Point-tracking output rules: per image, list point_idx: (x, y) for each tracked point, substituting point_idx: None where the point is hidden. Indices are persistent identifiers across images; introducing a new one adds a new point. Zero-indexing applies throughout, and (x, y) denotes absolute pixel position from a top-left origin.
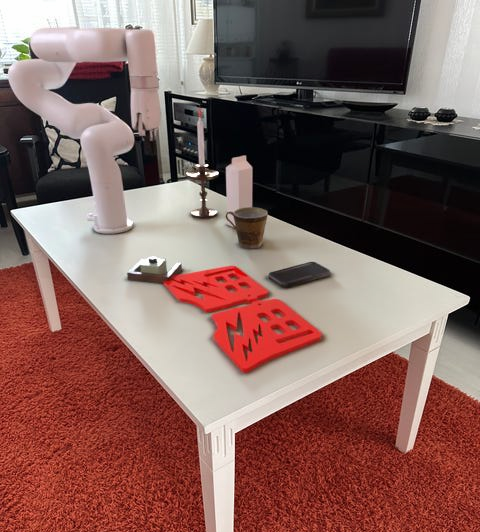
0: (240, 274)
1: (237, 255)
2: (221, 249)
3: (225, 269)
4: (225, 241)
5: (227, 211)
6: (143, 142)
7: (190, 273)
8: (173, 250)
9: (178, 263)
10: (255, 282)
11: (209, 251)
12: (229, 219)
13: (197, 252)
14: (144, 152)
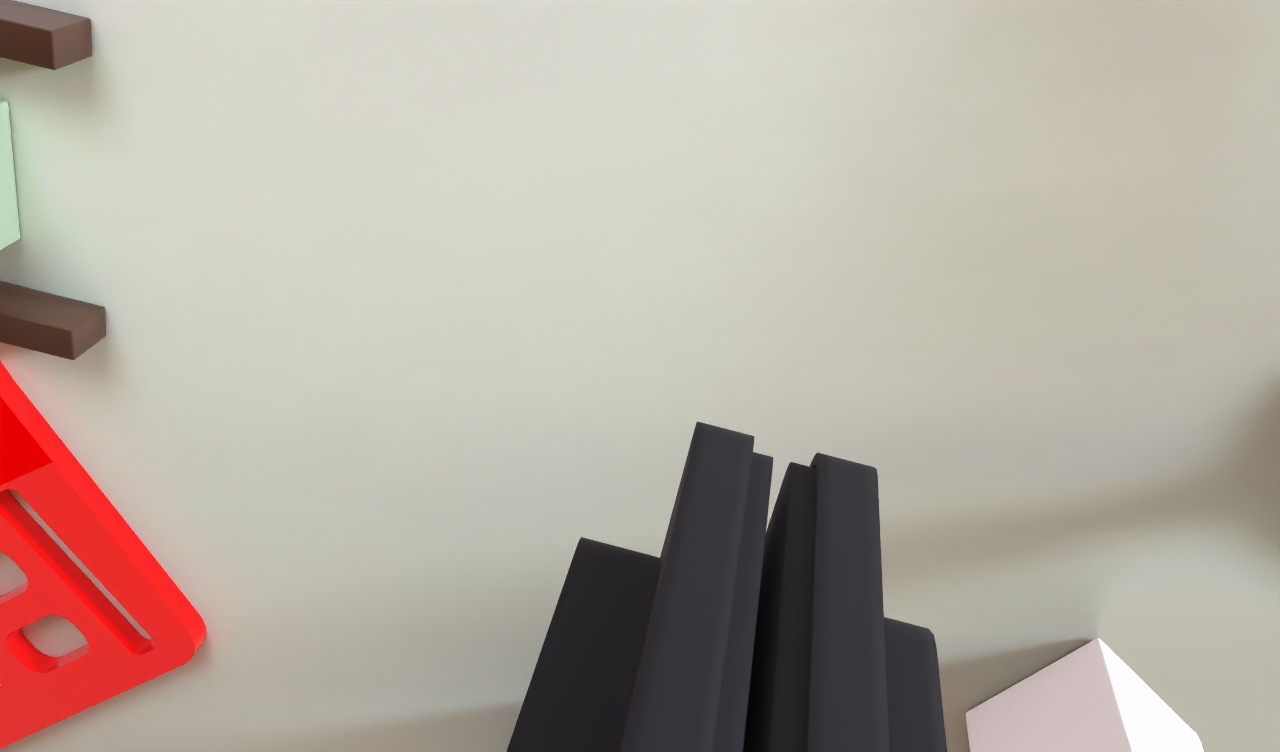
0: (84, 676)
1: (421, 667)
2: (517, 579)
3: (126, 607)
4: None
5: (1118, 738)
6: (641, 680)
7: (3, 411)
8: (454, 231)
9: (55, 341)
10: (12, 734)
11: (468, 502)
12: (1079, 696)
13: (437, 421)
14: (692, 446)
